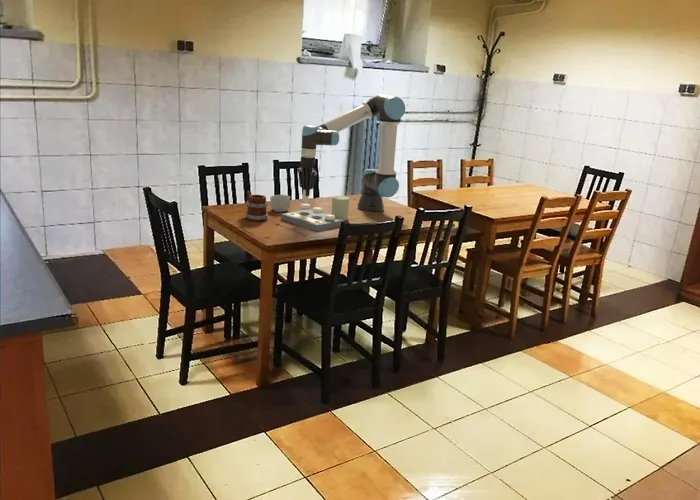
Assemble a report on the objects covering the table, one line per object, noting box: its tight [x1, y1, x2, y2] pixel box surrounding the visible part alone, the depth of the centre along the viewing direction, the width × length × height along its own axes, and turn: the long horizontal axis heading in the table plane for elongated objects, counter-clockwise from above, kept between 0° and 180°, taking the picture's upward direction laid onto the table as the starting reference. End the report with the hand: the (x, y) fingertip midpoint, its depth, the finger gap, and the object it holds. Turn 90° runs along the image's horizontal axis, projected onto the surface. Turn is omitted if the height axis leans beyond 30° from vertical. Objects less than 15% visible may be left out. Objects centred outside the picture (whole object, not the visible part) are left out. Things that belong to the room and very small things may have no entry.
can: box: [330, 195, 350, 221], centre depth 314 cm, size 9×9×12 cm
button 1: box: [300, 203, 311, 210], centre depth 310 cm, size 5×5×2 cm
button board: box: [280, 208, 346, 232], centre depth 304 cm, size 20×26×3 cm
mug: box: [244, 190, 269, 223], centre depth 301 cm, size 12×14×15 cm
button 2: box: [325, 213, 335, 221], centre depth 300 cm, size 5×5×2 cm
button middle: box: [312, 206, 323, 213], centre depth 305 cm, size 5×5×2 cm
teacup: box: [269, 194, 291, 213], centre depth 323 cm, size 14×11×8 cm
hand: (305, 201), depth 309 cm, fingers closed
